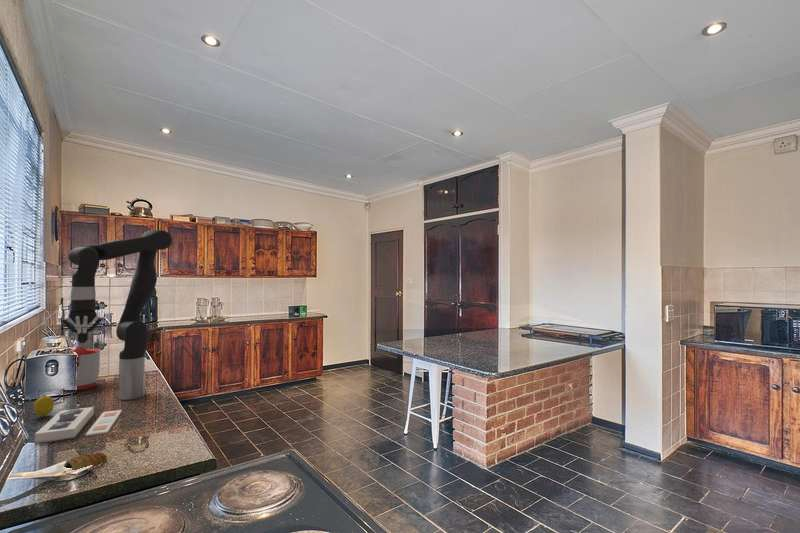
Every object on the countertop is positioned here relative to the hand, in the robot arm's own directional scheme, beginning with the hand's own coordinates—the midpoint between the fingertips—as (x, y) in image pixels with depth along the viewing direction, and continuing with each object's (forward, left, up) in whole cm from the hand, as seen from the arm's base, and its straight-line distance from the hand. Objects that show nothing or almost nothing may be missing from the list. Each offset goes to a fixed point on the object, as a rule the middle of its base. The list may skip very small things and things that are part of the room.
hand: (82, 342), depth 154 cm
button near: (0, +24, -26) cm, 36 cm away
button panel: (0, +17, -27) cm, 32 cm away
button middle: (0, +17, -25) cm, 30 cm away
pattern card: (-11, +17, -27) cm, 34 cm away
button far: (0, +10, -26) cm, 28 cm away
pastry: (-14, +54, -28) cm, 62 cm away
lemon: (+11, 0, -27) cm, 30 cm away
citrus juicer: (+11, -39, -27) cm, 49 cm away
